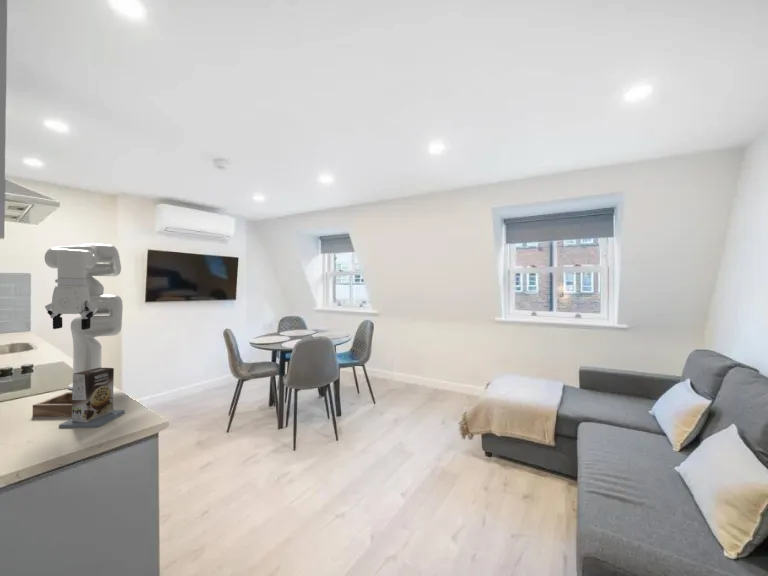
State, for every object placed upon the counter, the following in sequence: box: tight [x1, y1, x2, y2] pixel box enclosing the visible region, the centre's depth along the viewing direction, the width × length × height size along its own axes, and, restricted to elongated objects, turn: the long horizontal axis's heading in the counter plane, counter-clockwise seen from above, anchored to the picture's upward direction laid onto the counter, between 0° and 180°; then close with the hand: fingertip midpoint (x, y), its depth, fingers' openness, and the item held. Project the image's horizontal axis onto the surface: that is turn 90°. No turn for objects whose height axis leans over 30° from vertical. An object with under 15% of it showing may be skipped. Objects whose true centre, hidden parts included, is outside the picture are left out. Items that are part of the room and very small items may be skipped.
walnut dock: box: [32, 391, 73, 418], centre depth 121 cm, size 13×13×4 cm
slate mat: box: [58, 409, 126, 429], centre depth 112 cm, size 12×12×1 cm
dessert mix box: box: [71, 367, 115, 423], centre depth 112 cm, size 9×6×16 cm
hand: (71, 328), depth 121 cm, fingers open, 9 cm apart
